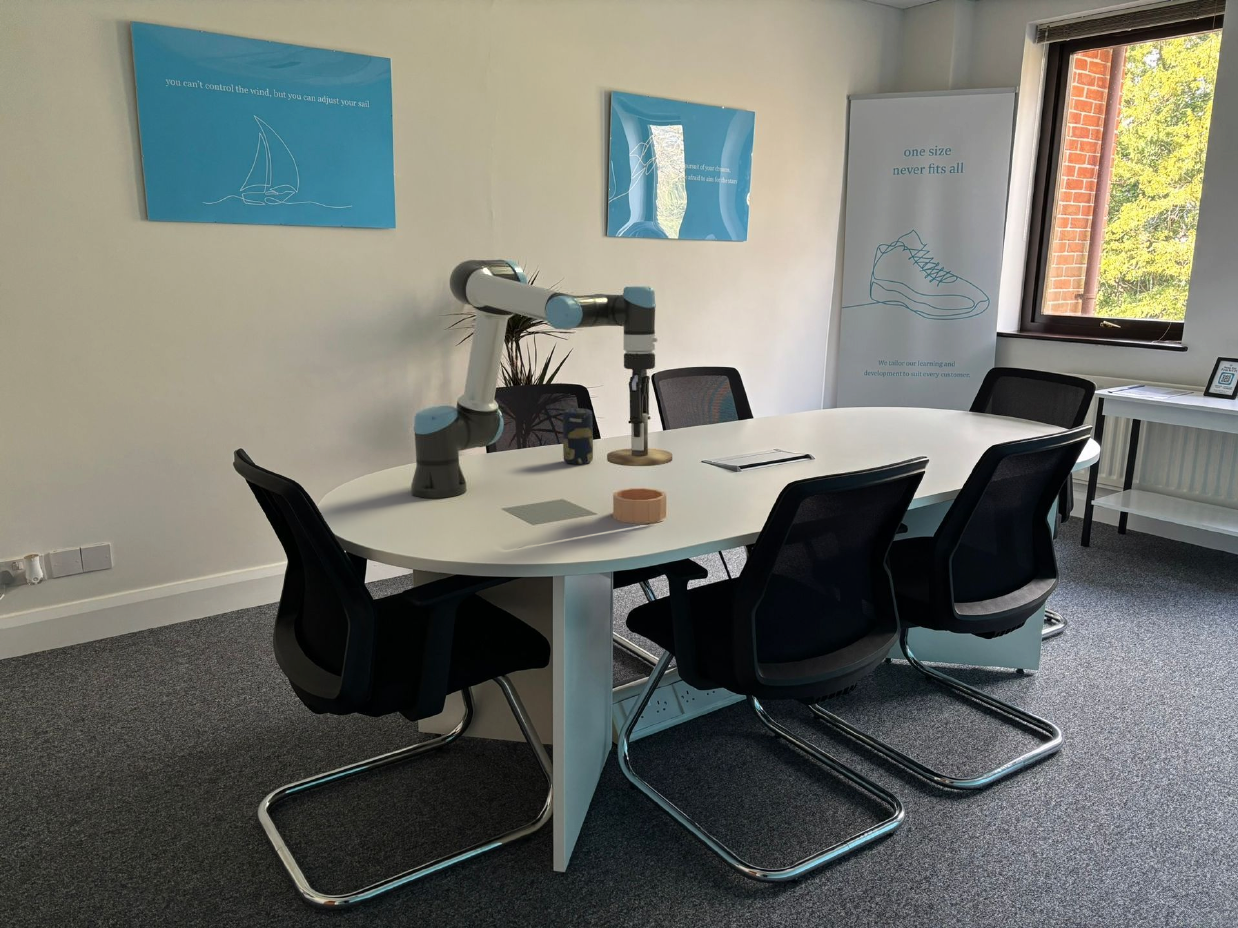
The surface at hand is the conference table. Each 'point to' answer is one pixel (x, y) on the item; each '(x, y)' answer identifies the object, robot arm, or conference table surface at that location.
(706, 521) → the conference table surface
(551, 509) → the mat
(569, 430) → the canister
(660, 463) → the lid
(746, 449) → the conference table surface
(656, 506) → the bowl
